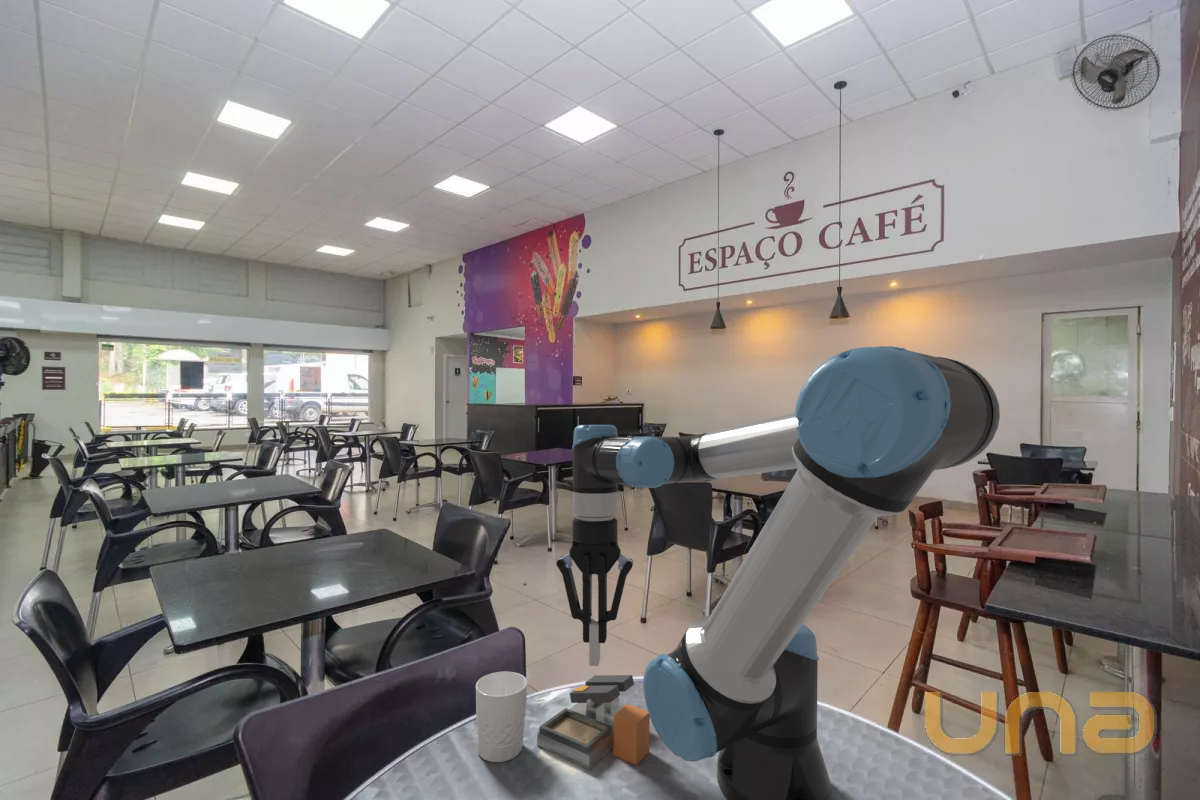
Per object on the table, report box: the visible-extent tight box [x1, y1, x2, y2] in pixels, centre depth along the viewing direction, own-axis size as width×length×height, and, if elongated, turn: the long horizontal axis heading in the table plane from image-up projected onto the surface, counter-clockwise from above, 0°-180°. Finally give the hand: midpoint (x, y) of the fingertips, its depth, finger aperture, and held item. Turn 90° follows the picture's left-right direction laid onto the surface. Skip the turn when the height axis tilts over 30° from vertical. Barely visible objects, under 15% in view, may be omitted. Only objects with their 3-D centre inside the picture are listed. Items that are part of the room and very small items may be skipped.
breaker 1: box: [569, 685, 621, 707], centre depth 88 cm, size 8×3×2 cm, turn 57°
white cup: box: [475, 671, 528, 763], centre depth 82 cm, size 8×8×10 cm
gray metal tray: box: [536, 695, 627, 771], centre depth 87 cm, size 10×15×4 cm, turn 146°
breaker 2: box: [585, 674, 635, 693], centre depth 91 cm, size 8×3×2 cm, turn 57°
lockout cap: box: [612, 703, 651, 766], centre depth 82 cm, size 4×4×6 cm
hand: (594, 662), depth 87 cm, fingers closed
